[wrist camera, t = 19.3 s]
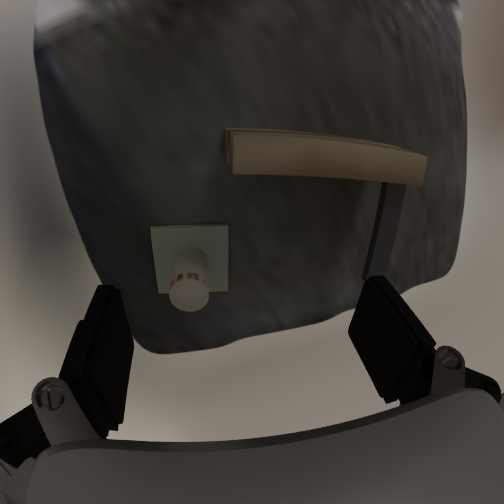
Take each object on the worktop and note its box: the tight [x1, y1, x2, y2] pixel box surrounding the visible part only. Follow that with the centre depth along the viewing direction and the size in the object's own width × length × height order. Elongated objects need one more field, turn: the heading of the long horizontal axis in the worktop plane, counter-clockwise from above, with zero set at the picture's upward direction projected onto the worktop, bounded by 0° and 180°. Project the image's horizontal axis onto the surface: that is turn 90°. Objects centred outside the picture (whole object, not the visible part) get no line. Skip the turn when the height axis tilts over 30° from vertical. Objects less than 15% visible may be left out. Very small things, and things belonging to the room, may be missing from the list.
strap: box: [362, 182, 406, 281], centre depth 28 cm, size 11×2×1 cm, turn 178°
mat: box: [150, 224, 228, 293], centre depth 35 cm, size 9×9×1 cm
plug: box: [169, 247, 209, 312], centre depth 31 cm, size 4×4×7 cm
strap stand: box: [225, 128, 427, 186], centre depth 26 cm, size 3×18×10 cm, turn 88°
